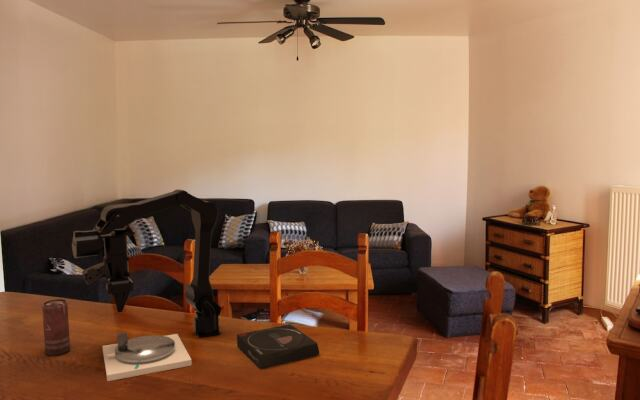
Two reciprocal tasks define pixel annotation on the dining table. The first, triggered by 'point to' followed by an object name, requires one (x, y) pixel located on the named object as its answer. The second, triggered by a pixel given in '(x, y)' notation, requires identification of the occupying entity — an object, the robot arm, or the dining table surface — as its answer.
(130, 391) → the dining table surface
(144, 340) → the dial
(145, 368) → the board
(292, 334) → the portable cd player
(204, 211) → the robot arm
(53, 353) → the can
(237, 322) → the dining table surface
